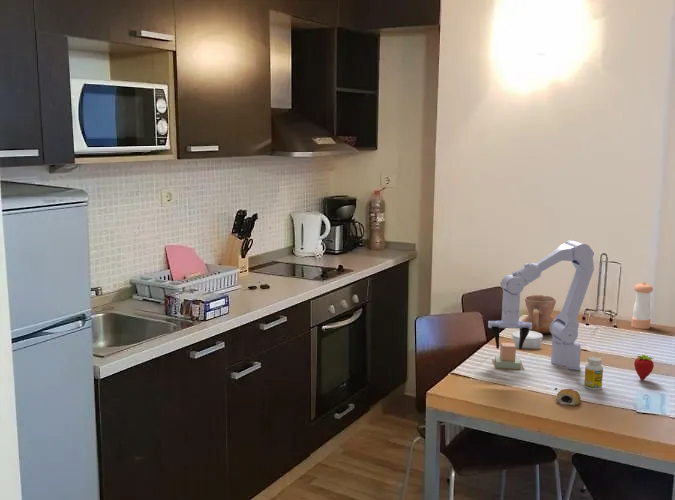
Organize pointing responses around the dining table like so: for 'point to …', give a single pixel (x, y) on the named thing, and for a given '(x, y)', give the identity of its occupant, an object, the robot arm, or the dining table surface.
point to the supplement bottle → (593, 374)
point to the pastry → (568, 397)
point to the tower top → (507, 363)
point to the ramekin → (528, 339)
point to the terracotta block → (508, 351)
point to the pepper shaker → (642, 306)
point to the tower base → (507, 368)
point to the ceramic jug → (540, 312)
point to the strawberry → (643, 366)
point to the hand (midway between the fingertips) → (508, 348)
